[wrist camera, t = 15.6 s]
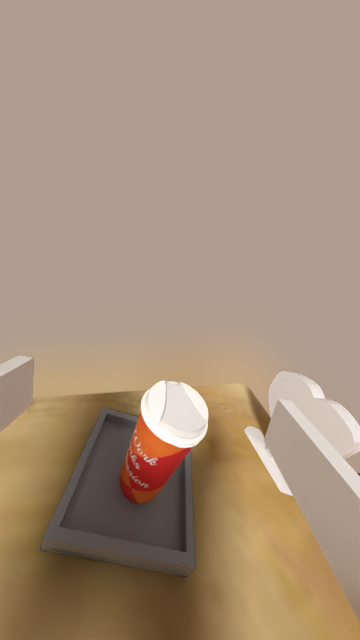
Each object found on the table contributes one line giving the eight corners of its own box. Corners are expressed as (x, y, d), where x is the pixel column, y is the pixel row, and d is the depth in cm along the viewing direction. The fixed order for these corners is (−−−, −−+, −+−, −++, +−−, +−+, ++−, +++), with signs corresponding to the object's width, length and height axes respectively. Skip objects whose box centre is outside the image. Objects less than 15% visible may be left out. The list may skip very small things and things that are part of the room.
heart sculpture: (306, 499, 36) (379, 435, 30) (288, 505, 34) (363, 437, 27) (254, 422, 49) (297, 365, 42) (239, 422, 47) (282, 363, 40)
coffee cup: (111, 449, 30) (141, 372, 25) (162, 447, 33) (198, 380, 28) (108, 523, 23) (149, 438, 17) (173, 512, 26) (225, 438, 21)
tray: (39, 550, 20) (42, 538, 19) (99, 416, 35) (103, 406, 34) (186, 576, 22) (195, 568, 21) (184, 441, 37) (189, 432, 36)
